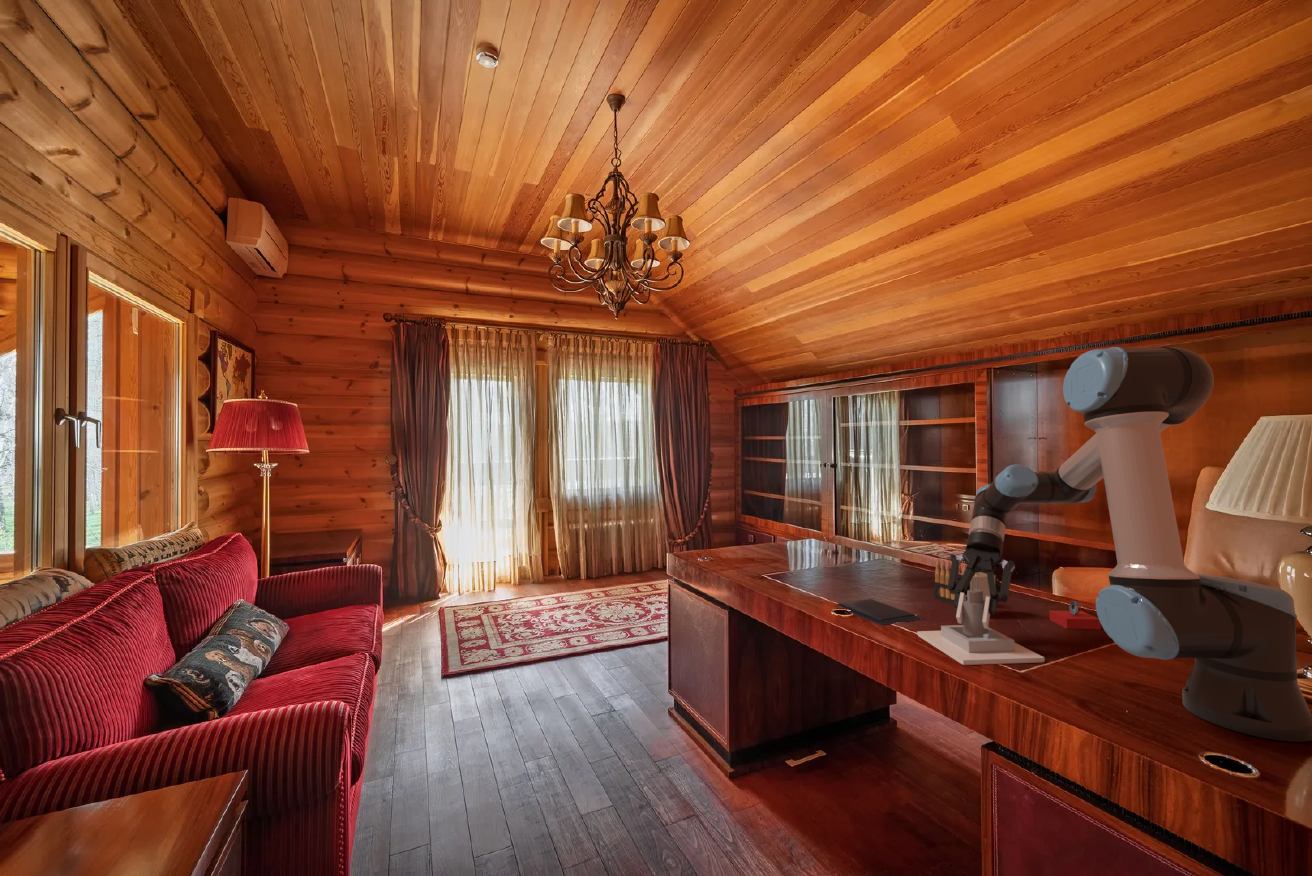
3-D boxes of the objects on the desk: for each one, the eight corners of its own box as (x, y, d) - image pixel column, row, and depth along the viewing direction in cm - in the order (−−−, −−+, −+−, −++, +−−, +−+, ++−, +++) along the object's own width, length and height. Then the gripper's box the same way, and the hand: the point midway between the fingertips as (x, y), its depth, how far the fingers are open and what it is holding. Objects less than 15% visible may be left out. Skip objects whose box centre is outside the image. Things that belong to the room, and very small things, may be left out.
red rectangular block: (1082, 621, 141) (1081, 597, 141) (1101, 630, 134) (1100, 605, 134) (1049, 621, 142) (1049, 597, 142) (1067, 630, 135) (1066, 604, 135)
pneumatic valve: (1002, 615, 146) (1001, 571, 146) (963, 618, 144) (962, 573, 144) (987, 609, 151) (986, 567, 151) (949, 612, 150) (948, 568, 150)
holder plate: (1044, 662, 114) (1044, 645, 114) (963, 665, 113) (962, 648, 113) (988, 633, 132) (987, 619, 132) (917, 635, 131) (917, 621, 131)
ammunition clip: (933, 598, 163) (932, 558, 163) (938, 597, 164) (937, 558, 164) (966, 607, 153) (965, 565, 154) (971, 606, 154) (970, 565, 154)
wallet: (831, 600, 157) (873, 595, 162) (831, 607, 157) (873, 602, 162) (880, 621, 138) (926, 615, 143) (880, 629, 138) (926, 622, 143)
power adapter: (990, 632, 123) (988, 580, 123) (974, 636, 121) (973, 583, 121) (976, 628, 126) (975, 577, 126) (961, 632, 123) (960, 580, 124)
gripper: (1030, 552, 129) (1020, 640, 116) (949, 544, 141) (932, 623, 128) (1026, 533, 125) (1016, 622, 113) (943, 526, 137) (926, 606, 124)
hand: (971, 622), depth 120 cm, fingers closed on power adapter, 4 cm apart
